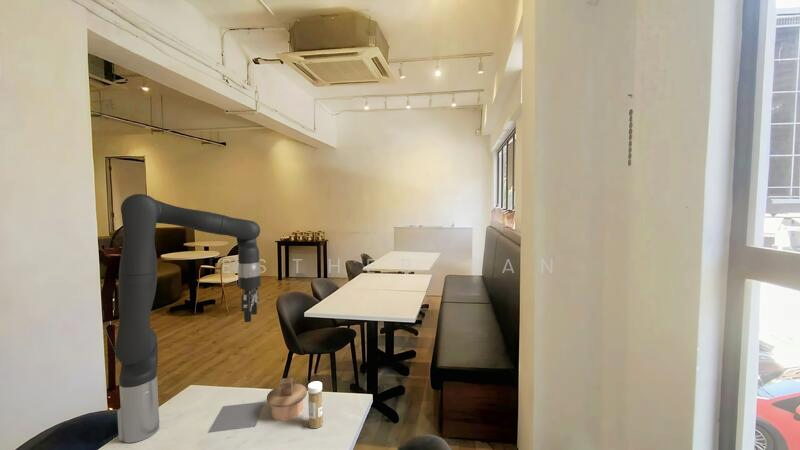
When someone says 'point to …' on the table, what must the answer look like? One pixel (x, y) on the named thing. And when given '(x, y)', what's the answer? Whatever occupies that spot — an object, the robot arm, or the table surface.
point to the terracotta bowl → (287, 411)
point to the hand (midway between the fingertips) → (251, 317)
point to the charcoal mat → (237, 417)
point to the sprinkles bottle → (315, 404)
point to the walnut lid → (286, 394)
